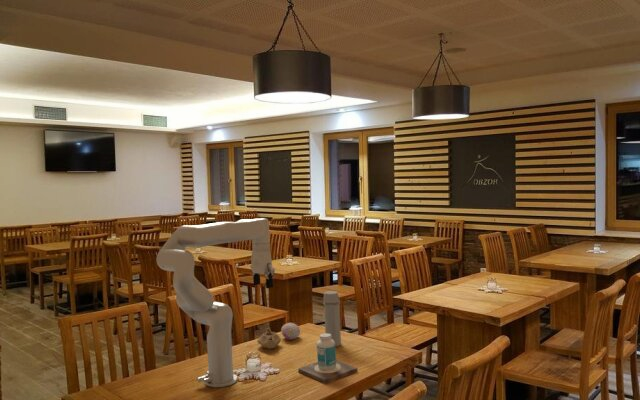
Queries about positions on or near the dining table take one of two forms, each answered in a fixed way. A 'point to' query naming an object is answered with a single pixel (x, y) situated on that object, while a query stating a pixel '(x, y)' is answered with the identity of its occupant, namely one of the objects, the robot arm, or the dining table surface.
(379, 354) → the dining table surface
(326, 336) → the pill bottle
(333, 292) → the water bottle
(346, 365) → the serving board
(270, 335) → the oil lamp
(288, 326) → the decorative item
